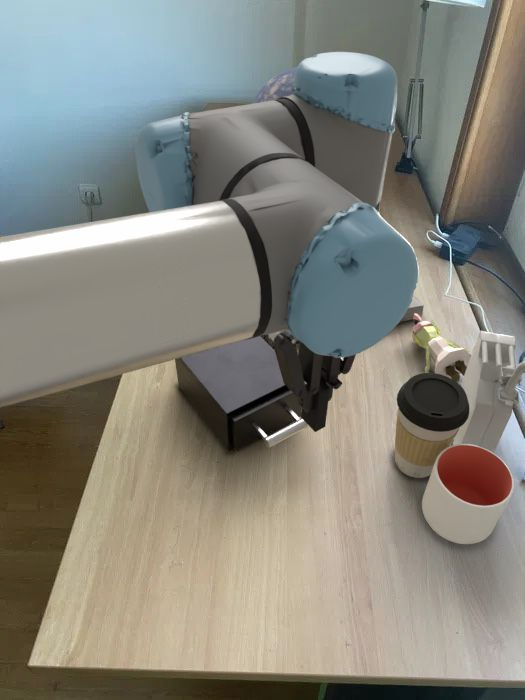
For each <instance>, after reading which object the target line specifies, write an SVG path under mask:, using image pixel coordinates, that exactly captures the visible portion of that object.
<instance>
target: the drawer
mask: <svg viewBox="0 0 525 700" xmlns="http://www.w3.org/2000/svg"><path fill="white" fill-rule="evenodd" d="M298 400H299V399H298V397H297V396H296V395H295V394H294V393H293V392H292V391H291V390H290V389H289V388H286V389H284V390H282V391H280V392H278V393H276V394H274V395H272V396H270V397H268V398H266V399H265V400H263V401H261V402H259V403H257V404H255V405H253V406H251V407H249V408H247V409H245V410H243V411H241V412H239V413H235V414H233V415H232V416H231V417H230V418H231V438H232V447H233V448H234V449H233V450H234V451H239V450H240V449H242V448H244V447H246V446H248V445H249V444H251V443H254V442H256V441H257V440H259V439H261V438H262V439H263V443H264V445H265V447H266V448H267V449H270V448H272V447H274V446H276V445H278V444H279V443H282V442H284V441H286V440H287V439H289V438H291V437H292V436H294V435H296V434H298V433H299V432H302V431H304V430H305V429H307V428H308V424H307V423H306V422H305V421H304V420H303V419H302V418H301V412H302V407H301V406H300V405H299V404H298ZM293 421H294V422H293ZM291 422H292V423H291ZM287 424H289V425H287ZM286 425H287V426H286ZM283 426H285V427H283ZM282 427H283V428H282ZM276 430H277V431H276ZM274 431H275V432H274ZM272 432H273V433H272ZM270 433H271V434H270Z"/></svg>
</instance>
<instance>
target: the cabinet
mask: <svg viewBox="0 0 525 700" xmlns="http://www.w3.org/2000/svg"><path fill="white" fill-rule="evenodd" d="M174 362H175V363H174V364H175V370H176V378H177V386H178V388H179V390H180V391H181V392H182V393H183V394H184V396H185V397H186V398H187V399H188V401H189V402H190V403H191V404H192V406H193V407H194V409H195V410H196V411H197V413H199V415H200V417H201V418H202V419H203V420H204V421H205V423H206V424H207V425H208V426H209V428H210V429H211V430H212V432H213V433H214V434H215V436H216V437H217V438H218V440H219V441H221V443H222V444H223V446H224V447H225V448H226V450H227V451H228V452H230V451H231V450H235V449H234V448H233V447H232V438H231V418H230V417H231V416H232V415H233V414H235V413H237V412H239V411H242V410H244V409H246V408H248V407H250V406H252V405H254V404H256V403H258V402H260V401H262V400H264V399H266V398H268V397H270V396H272V395H274V394H276V393H278V392H280V391H282V390H284V389H286V388H288V387H287V386H286V385H285V384H284V382H283V378H282V375H281V371H280V368H279V364H278V360H277V357H276V353H275V350H274V347H271V346H270V344H269V342H268V341H267V340H265V339H264V338H263V337H262V336H258V337H255V338H251V339H247V340H242V341H239V342H235V343H231V344H228V345H224V346H221V347H217V348H214V349H210V350H206V351H203V352H199V353H196V354H192V355H189V356H185V357H181V358H178V359H174Z"/></svg>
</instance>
